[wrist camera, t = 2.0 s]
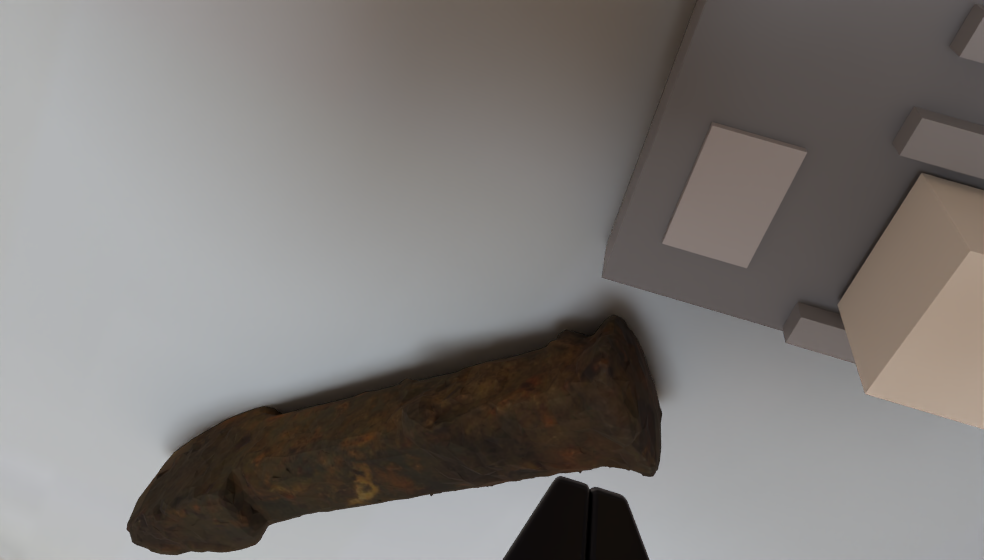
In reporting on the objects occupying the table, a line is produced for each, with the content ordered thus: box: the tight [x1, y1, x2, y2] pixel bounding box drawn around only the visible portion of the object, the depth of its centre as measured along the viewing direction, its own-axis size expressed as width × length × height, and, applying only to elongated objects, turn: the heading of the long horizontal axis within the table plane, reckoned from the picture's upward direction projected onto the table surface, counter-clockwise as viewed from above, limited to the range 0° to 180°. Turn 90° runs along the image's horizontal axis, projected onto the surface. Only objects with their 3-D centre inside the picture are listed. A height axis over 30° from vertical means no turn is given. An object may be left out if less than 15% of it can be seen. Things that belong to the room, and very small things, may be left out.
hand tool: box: [127, 315, 662, 555], centre depth 23 cm, size 19×4×5 cm, turn 114°
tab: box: [838, 173, 984, 429], centre depth 15 cm, size 4×4×3 cm
